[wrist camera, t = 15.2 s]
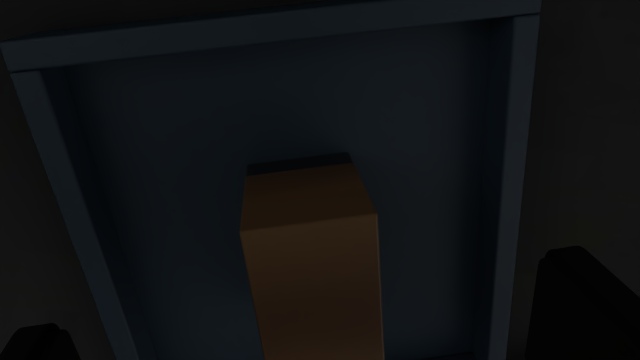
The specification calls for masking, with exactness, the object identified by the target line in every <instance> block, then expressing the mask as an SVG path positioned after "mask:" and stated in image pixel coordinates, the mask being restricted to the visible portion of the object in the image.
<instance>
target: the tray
mask: <svg viewBox="0 0 640 360" xmlns="http://www.w3.org/2000/svg"><path fill="white" fill-rule="evenodd" d="M541 2H542V0H330V1H321V2H312V3H302V4H293V5H284V6H274V7H265V8H256V9H247V10H237V11H228V12H219V13H209V14H200V15H191V16H182V17H172V18H163V19H154V20H144V21H135V22H126V23H117V24H107V25H98V26H89V27H79V28H70V29H61V30H51V31H42V32H36V33H32V34H28V35H24V36H20V37H16V38H12V39H8V40H4V41H1V42H0V50H1V53H2V55H3V58H4V61H5V63H6V66H7V69H8V70H9V71H10V72H12V73H11V74H10V77H11V79H12V82H13V85H14V87H15V90H16V93H17V95H18V98H19V101H20V103H21V106H22V109H23V112H24V114H25V117H26V120H27V122H28V125H29V128H30V130H31V133H32V136H33V138H34V141H35V144H36V146H37V149H38V152H39V154H40V157H41V160H42V162H43V165H44V168H45V170H46V173H47V176H48V178H49V181H50V184H51V186H52V189H53V192H54V194H55V197H56V200H57V202H58V205H59V208H60V210H61V213H62V216H63V218H64V221H65V224H66V226H67V229H68V232H69V234H70V237H71V240H72V242H73V245H74V248H75V250H76V253H77V256H78V258H79V261H80V264H81V266H82V269H83V272H84V274H85V277H86V280H87V282H88V285H89V288H90V290H91V293H92V296H93V298H94V301H95V304H96V306H97V309H98V312H99V315H100V317H101V320H102V323H103V325H104V328H105V331H106V333H107V336H108V339H109V341H110V344H111V347H112V349H113V352H114V355H115V357H116V360H264V357H263V351H262V346H261V341H260V336H259V331H258V326H257V321H256V316H255V310H254V305H253V300H252V295H251V290H250V285H249V280H248V275H247V269H246V264H245V259H244V254H243V249H242V244H241V239H240V234H239V233H240V223H241V214H242V204H243V195H244V185H245V177H246V167H247V165H250V164H258V163H266V162H274V161H281V160H289V159H297V158H305V157H313V156H321V155H328V154H336V153H344V152H348V153H349V154H350V156H351V158H352V161H353V163H354V165H355V167H356V169H357V171H358V173H359V175H360V177H361V180H362V182H363V184H364V186H365V188H366V190H367V192H368V195H369V197H370V199H371V201H372V203H373V205H374V207H375V210H376V212H377V214H378V230H379V251H380V271H381V292H382V313H383V334H384V354H385V360H506V351H507V341H508V331H509V321H510V311H511V301H512V291H513V281H514V271H515V261H516V251H517V241H518V231H519V221H520V211H521V201H522V191H523V181H524V171H525V161H526V151H527V141H528V131H529V121H530V111H531V101H532V91H533V81H534V71H535V61H536V51H537V41H538V31H539V21H540V15H539V14H537V13H539V12H540V10H541Z"/></svg>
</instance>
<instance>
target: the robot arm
mask: <svg viewBox="0 0 640 360" xmlns="http://www.w3.org/2000/svg"><path fill="white" fill-rule="evenodd" d="M525 357H526V360H640V298H639V297H638V296H637V295H636V294H635V293H634V292H633V291H631V290H630V289H629V288H628V287H627V286H626V285H625V284H624V283H622V282H621V281H620V280H619V279H618V278H617V277H616V276H615V275H613V274H612V273H611V272H610V271H609V270H608V269H607V268H606V267H604V266H603V265H602V264H601V263H600V262H599V261H598V260H597V259H595V258H594V257H593V256H592V255H591V254H590V253H589V252H588V251H586V250H585V249H584V248H582V247H580V246H572V247H565V248H559V249H552V250H549V251H548V252H547V253H546V256H545V258H542V259H541V260H540V261H539V264H538V271H537V278H536V285H535V291H534V298H533V305H532V312H531V319H530V325H529V332H528V339H527V346H526V353H525ZM0 360H81V359H80V357H79V355H78V352H77V350H76V348H75V346H74V343H73V341H72V339H71V336H70V334H69V333H68V331H66V330H60V329H59V327H58V326H57V325H56V324H53V323H50V324H43V325H36V326H30V327H23V328H20V329H18V330H17V331H16V332H15V333H14V334H13V336H12V337H11V339H10V340H9V342H8V343H7V345H6V346H5V348H4V349H3V351H2V353H1V354H0Z"/></svg>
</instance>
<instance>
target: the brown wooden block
mask: <svg viewBox="0 0 640 360" xmlns="http://www.w3.org/2000/svg"><path fill="white" fill-rule="evenodd" d="M239 234H240V239H241V244H242V249H243V254H244V259H245V264H246V269H247V275H248V280H249V285H250V290H251V295H252V300H253V305H254V310H255V316H256V321H257V326H258V331H259V336H260V341H261V346H262V351H263V357H264V360H385V354H384V334H383V313H382V292H381V271H380V251H379V230H378V214H377V212H376V210H375V207H374V205H373V203H372V201H371V199H370V197H369V195H368V192H367V190H366V188H365V186H364V184H363V182H362V180H361V177H360V175H359V173H358V171H357V169H356V167H355V165H354V163H353V161H352V158H351V156H350V154H349V153H348V152H344V153H336V154H328V155H321V156H313V157H305V158H297V159H289V160H281V161H274V162H266V163H258V164H250V165H247V167H246V177H245V185H244V195H243V204H242V214H241V223H240V233H239Z"/></svg>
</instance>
